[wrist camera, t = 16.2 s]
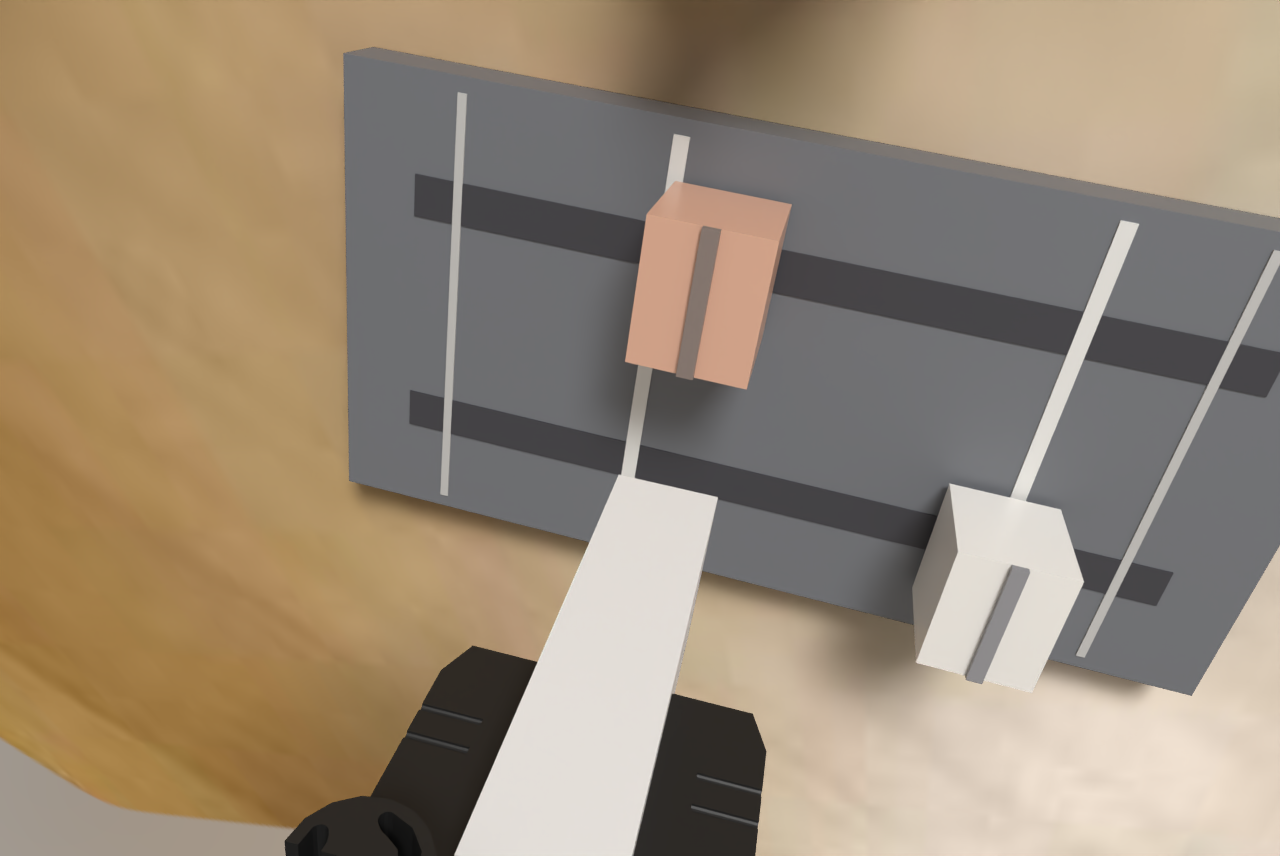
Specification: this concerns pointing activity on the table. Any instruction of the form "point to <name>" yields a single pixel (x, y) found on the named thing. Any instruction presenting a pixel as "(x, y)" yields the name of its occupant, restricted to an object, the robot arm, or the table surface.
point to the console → (816, 351)
